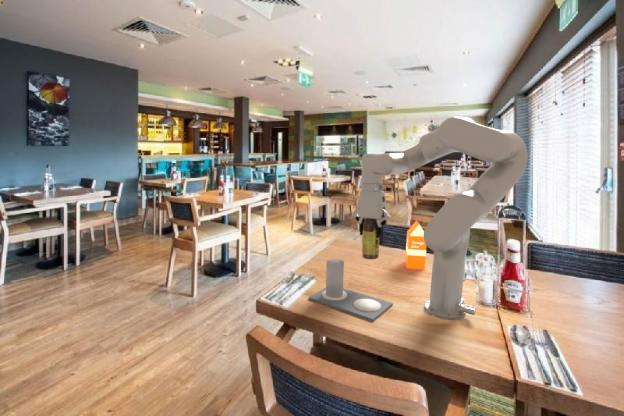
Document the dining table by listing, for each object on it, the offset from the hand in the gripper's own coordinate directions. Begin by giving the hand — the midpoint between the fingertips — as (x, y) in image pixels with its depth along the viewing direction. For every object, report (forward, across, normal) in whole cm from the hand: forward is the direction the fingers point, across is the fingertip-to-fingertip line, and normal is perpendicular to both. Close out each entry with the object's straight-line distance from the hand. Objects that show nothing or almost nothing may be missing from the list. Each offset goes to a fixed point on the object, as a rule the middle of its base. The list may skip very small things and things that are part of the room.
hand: (370, 235), depth 131 cm
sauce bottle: (+9, 0, 0) cm, 9 cm away
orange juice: (+20, -5, -33) cm, 39 cm away
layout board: (+20, -1, +17) cm, 26 cm away
